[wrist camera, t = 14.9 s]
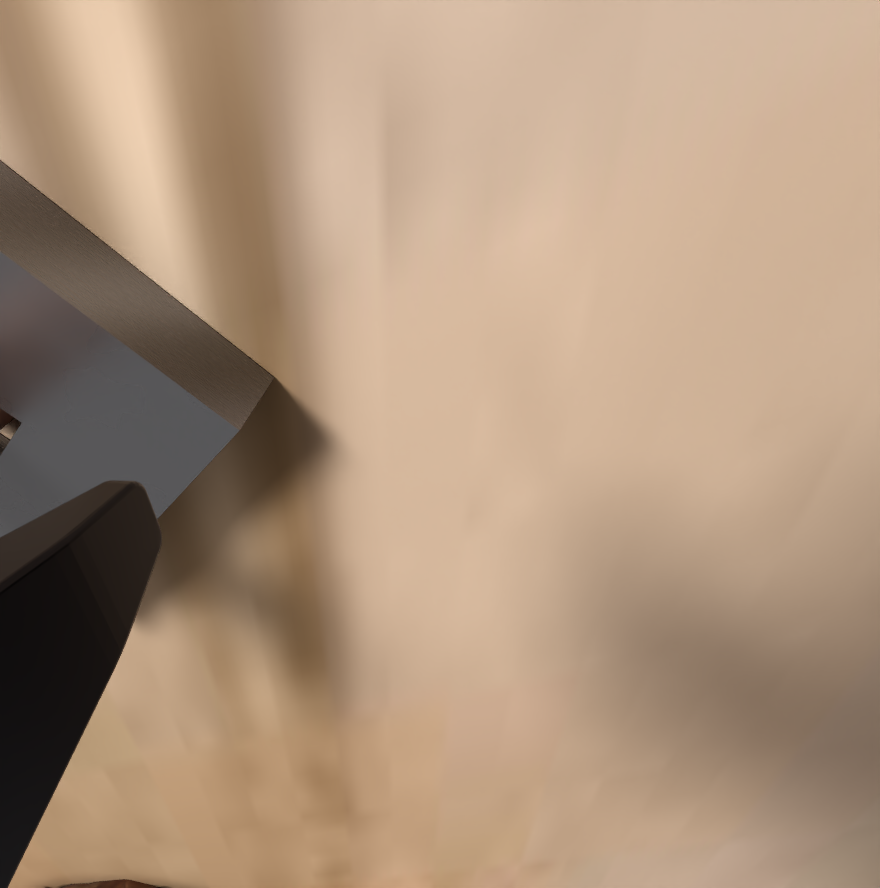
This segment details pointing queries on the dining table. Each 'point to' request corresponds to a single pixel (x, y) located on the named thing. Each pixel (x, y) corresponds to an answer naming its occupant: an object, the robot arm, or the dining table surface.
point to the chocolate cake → (112, 884)
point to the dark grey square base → (102, 369)
